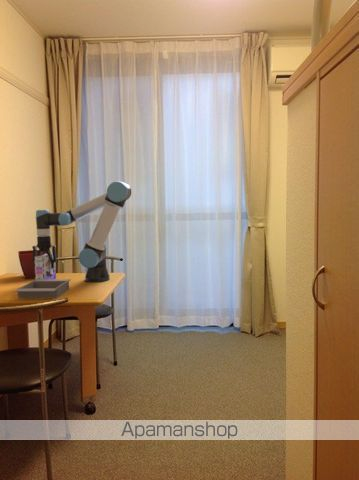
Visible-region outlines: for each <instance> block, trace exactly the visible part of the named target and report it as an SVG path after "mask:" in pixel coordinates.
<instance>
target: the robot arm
mask: <svg viewBox="0 0 359 480" xmlns="http://www.w3.org/2000/svg"><path fill="white" fill-rule="evenodd" d="M130 197H132V189H131V186H130V184H128V183H127V182H123V181H121V180H116V181H113V182H110V184H109V185H108V186H107V189H106V192H105V193H103V194H101V195H99V196H97V197H95V198H93V199H91V200H89V201H86V202H85V203H83V204H80V205H78V206H76V207H74V208H71V209H69V210H67V211H65V212H50V210H49V209H37V210H36V211H35V223H36V225H35V226H36V236H37V237H36V240H37V241H36V243H37V244H36V245H32V247H31V248H32V250H33V262H34V263H35V261H34V257H37V250H39V253H38V256H41V255H42V252H43V251H46V253H47V254H48V256H49V259H50V262H51V263H50V274H53V268H54V262H55V263H56V262H58V257H57V245H53V244H52V242H51V236H50V235H51V227H52V226H53V227H55V226H56V227H57V226H60V227H61V226H62V227H66V226H69V225H71V224H73V223H74V222H76V221H79V220H81V219H83V218H85V217H86V216H89V215H91V214H94V213H96V212H98V211H100V210H102V211H101V214H100V216H99V218H98V221H97V222H96V225H95V228H94V230H93V232H92V234H91V237H90V239H89V240H86V242H85V244H84V246H83V249H82V250H81V251H80V252H79V254H78V261H79V264H80V265H81V266H82V267H84V268H87V269H86V272H85V276H84V281H85V282H89V283H90V282H91V283H95V282H96V283H97V282H98V283H99V282H100V283H101V282H105V281H109V280H110V273H109V271H108V267H107V247H106V244H105V243H106V241H107V239H108V237H109V235H110V232H111V229H112V228H113V225H114V223H115V221H116V218H117V217H118V214H119V211H120V209H123V208H124V206H125V204H126V201H128V200H129V199H130ZM51 251H52V253H51ZM51 254H53V257H52V255H51Z"/></svg>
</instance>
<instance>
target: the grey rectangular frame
mask: <svg viewBox="0 0 359 480" xmlns="http://www.w3.org/2000/svg"><path fill="white" fill-rule="evenodd" d="M71 280H72V279H71V278H68V279H67V278H61V279H59V278H58V279H57V278H56V279H36V280H35V279H34V280H32V281H30V282H29V283H26V284H25V285H22V286H21V287H17V288H16V289H14V290H13V292H15V293H16V292H17V299H58V298H60V297H61V296H62V295H64V294H65V293H66V292H68V291H69V290H70V282H71Z"/></svg>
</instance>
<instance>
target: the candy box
mask: <svg viewBox="0 0 359 480" xmlns="http://www.w3.org/2000/svg"><path fill="white" fill-rule="evenodd" d="M51 255H52V257H53V253H51ZM34 261H35V278H34V280H36V279H57V272H56V269H57V268H56V262H54V268H53V274H50V263H51V262H50V259H49V256H48V254H45V255H41V256H37V257H34Z"/></svg>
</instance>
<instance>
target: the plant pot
mask: <svg viewBox="0 0 359 480" xmlns="http://www.w3.org/2000/svg"><path fill="white" fill-rule="evenodd" d="M17 253H18V259H19V264H20V268H21V271H22V273H23V276H24V279H35V263H34V262H33V249H31V250H18V251H17ZM38 253H39V249H37V256H38ZM45 254H47V253H46V251H43V252H42V255H45Z"/></svg>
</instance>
